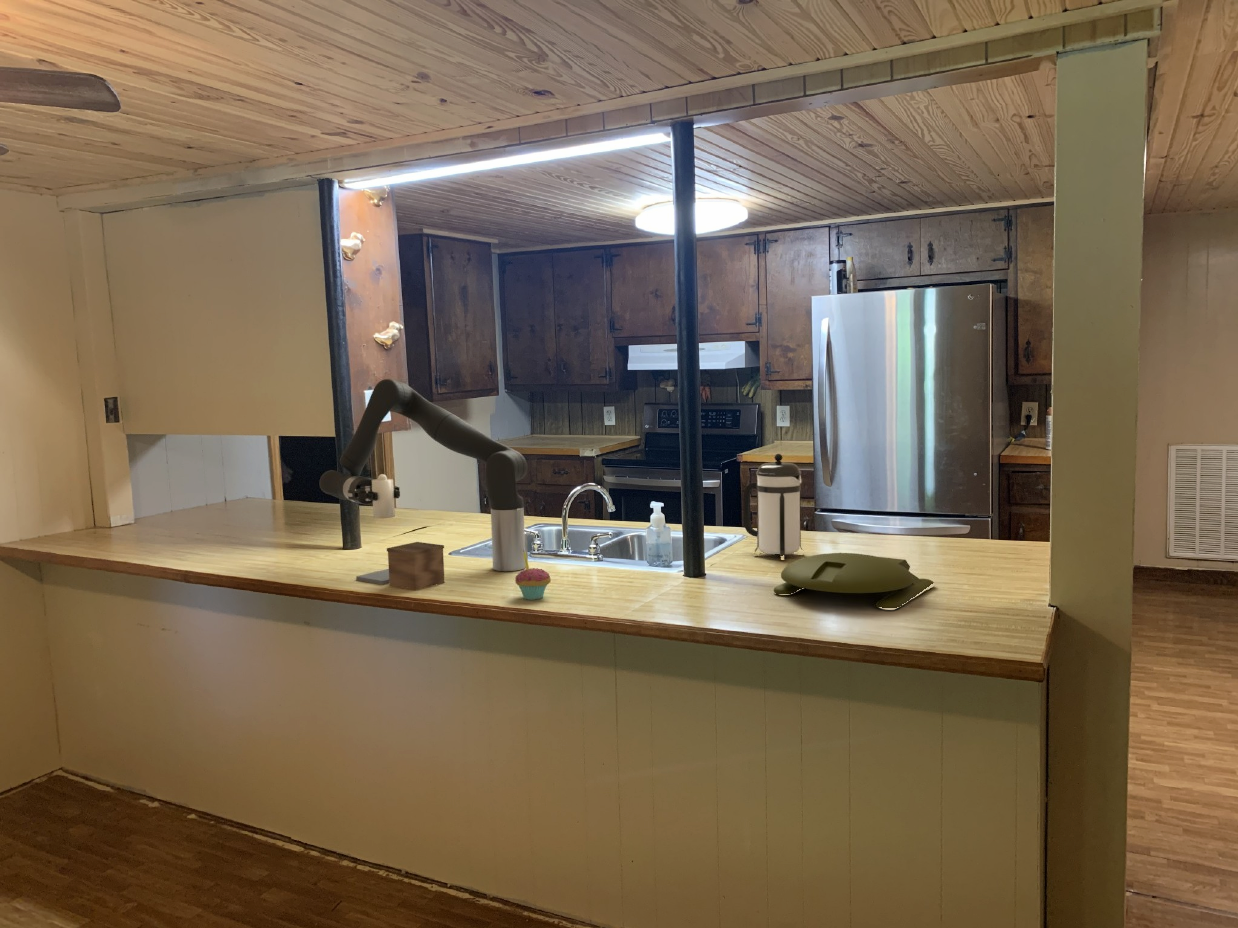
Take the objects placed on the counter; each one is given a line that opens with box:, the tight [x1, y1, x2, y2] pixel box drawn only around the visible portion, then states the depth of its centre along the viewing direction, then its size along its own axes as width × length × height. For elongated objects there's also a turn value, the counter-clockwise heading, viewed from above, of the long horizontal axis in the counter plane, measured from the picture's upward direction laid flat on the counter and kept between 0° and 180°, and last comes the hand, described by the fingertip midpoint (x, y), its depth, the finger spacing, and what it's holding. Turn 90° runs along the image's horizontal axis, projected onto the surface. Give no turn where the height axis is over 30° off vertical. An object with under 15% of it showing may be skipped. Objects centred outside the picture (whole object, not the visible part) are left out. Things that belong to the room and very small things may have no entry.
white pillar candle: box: [372, 473, 396, 519], centre depth 241 cm, size 6×6×12 cm
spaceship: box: [773, 552, 935, 608], centre depth 215 cm, size 35×31×10 cm
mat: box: [355, 568, 389, 585], centre depth 244 cm, size 12×11×1 cm
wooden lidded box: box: [386, 541, 445, 591], centre depth 235 cm, size 10×10×10 cm
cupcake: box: [514, 549, 552, 601], centre depth 218 cm, size 9×8×12 cm
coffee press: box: [742, 453, 803, 557], centre depth 260 cm, size 17×16×30 cm
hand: (387, 495), depth 239 cm, fingers closed on white pillar candle, 5 cm apart
